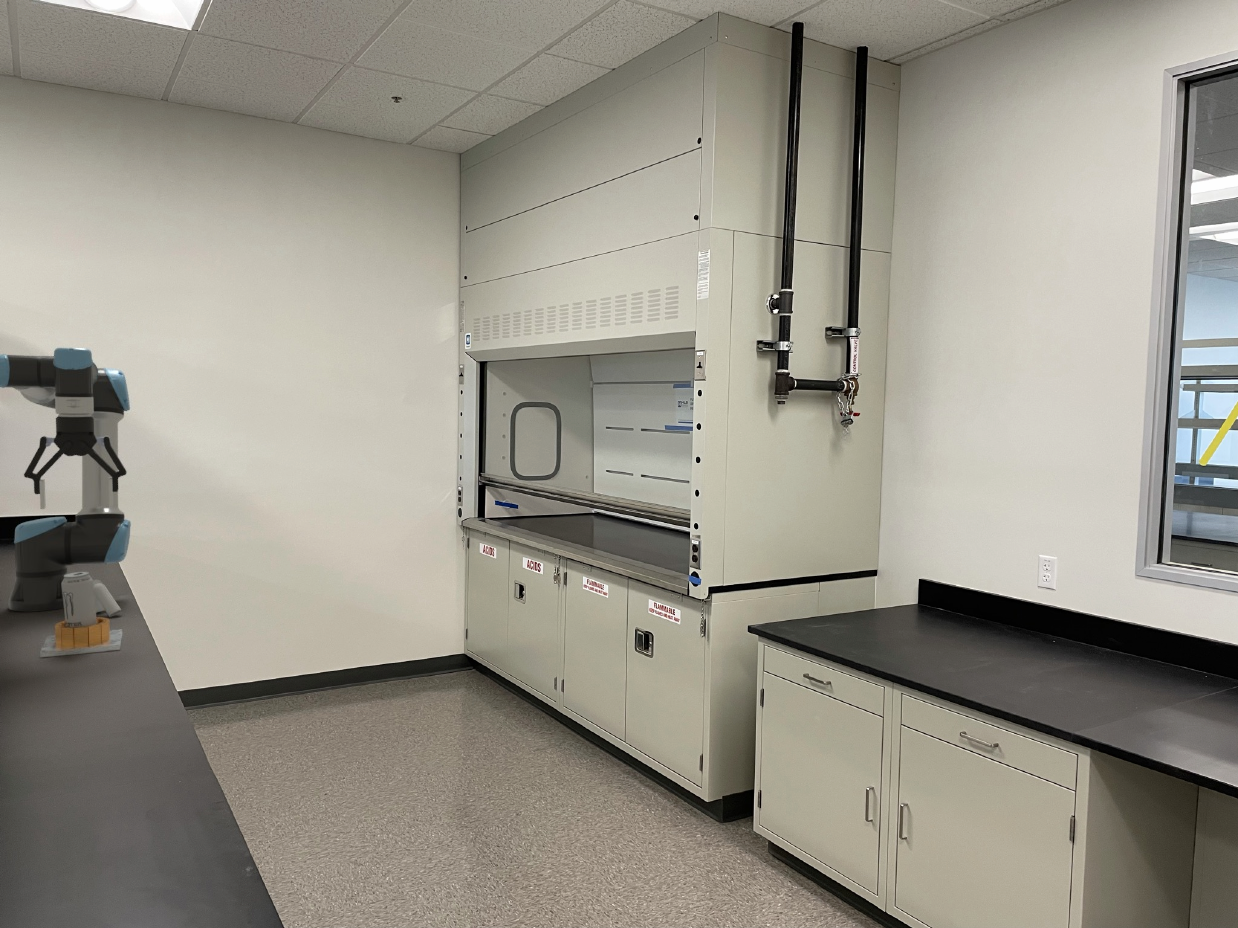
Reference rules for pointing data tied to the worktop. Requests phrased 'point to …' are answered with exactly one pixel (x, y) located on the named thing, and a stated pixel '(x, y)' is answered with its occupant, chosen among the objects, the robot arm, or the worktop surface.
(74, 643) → the keeper
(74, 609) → the energy drink can
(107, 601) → the wall hook
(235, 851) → the worktop surface
